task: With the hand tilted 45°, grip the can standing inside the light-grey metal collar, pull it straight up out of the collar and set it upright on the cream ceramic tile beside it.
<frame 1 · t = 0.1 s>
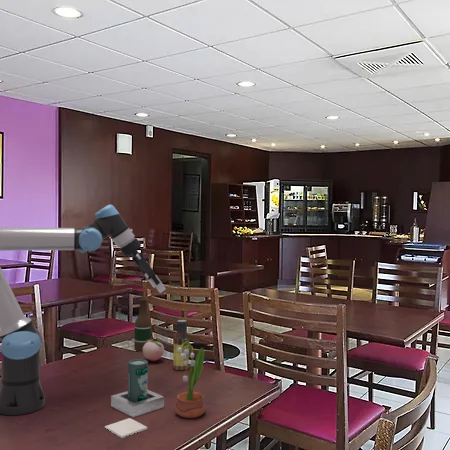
hand: (159, 288, 193), 36 cm above the table, tool tilted 35°, fingers open, 13 cm apart
tile: (126, 428, 153), on the table
decorative fruit: (152, 362, 219), on the table
collar: (137, 406, 170), on the table
can: (137, 407, 170), resting in collar
potted flower: (188, 415, 164), on the table
beer bottle: (142, 350, 237), on the table
sauce bottle: (180, 369, 211), on the table
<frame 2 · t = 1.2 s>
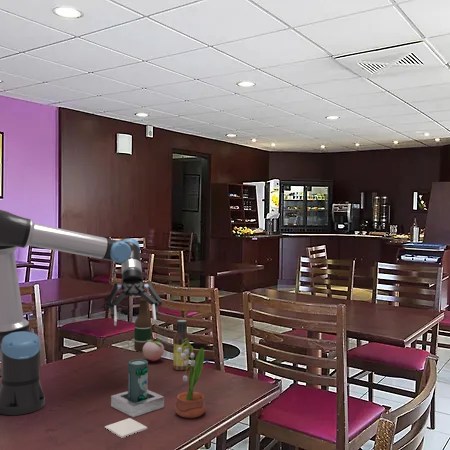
hand: (135, 322, 179), 26 cm above the table, tool tilted 45°, fingers open, 13 cm apart
nothing on the table moved.
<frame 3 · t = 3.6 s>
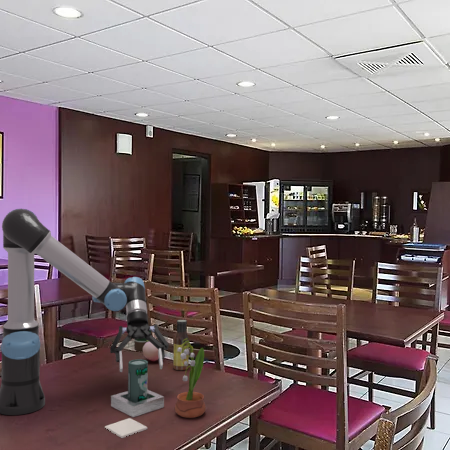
hand: (141, 368, 174), 11 cm above the table, tool tilted 45°, fingers open, 13 cm apart
nothing on the table moved.
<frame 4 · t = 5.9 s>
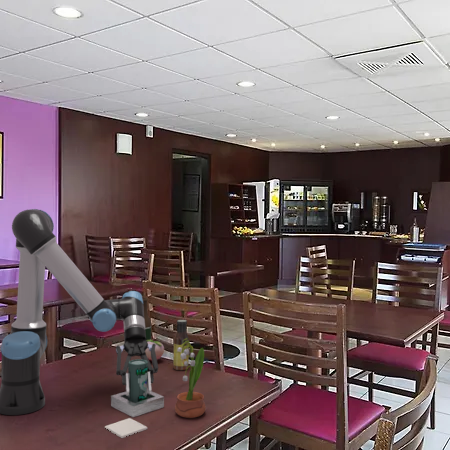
hand: (138, 392, 166), 6 cm above the table, tool tilted 45°, fingers closed on can, 6 cm apart
can: (137, 407, 170), resting in collar, touching gripper
everything else where it was.
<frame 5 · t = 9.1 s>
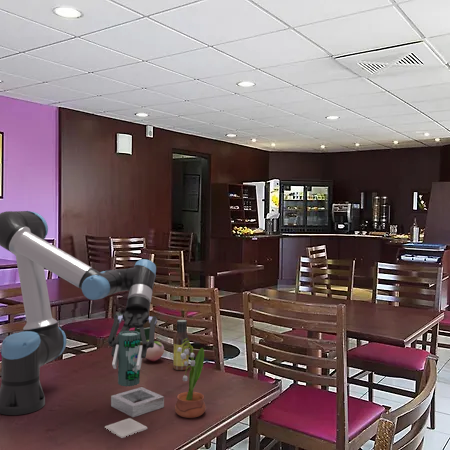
hand: (126, 366, 150), 19 cm above the table, tool tilted 45°, fingers closed on can, 6 cm apart
can: (128, 383, 154), point 13 cm above the table, touching gripper
everything else where it was.
when the fingers open (8 cm above the table, at t = 12.4 s): can drops 1 cm, resting on tile.
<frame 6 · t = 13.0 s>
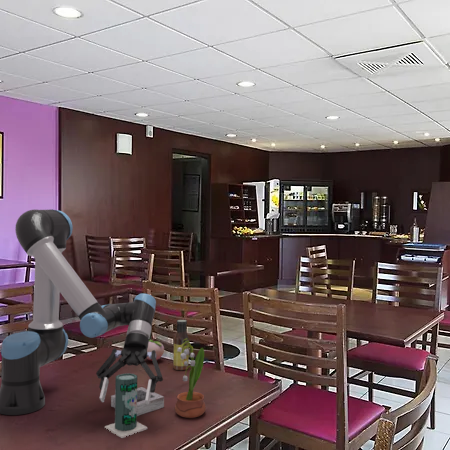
hand: (124, 401, 150), 9 cm above the table, tool tilted 45°, fingers open, 13 cm apart
can: (125, 427, 153), resting on tile
everything else where it was.
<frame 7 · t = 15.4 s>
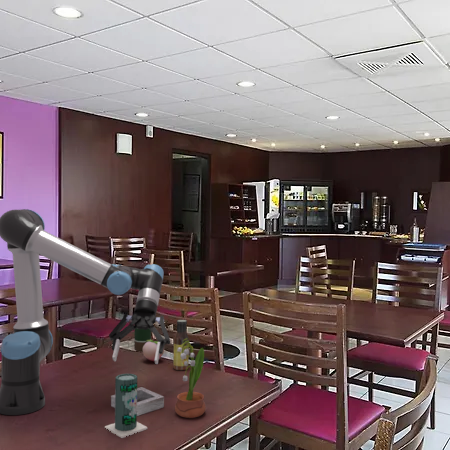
hand: (135, 360, 163), 17 cm above the table, tool tilted 45°, fingers open, 13 cm apart
nothing on the table moved.
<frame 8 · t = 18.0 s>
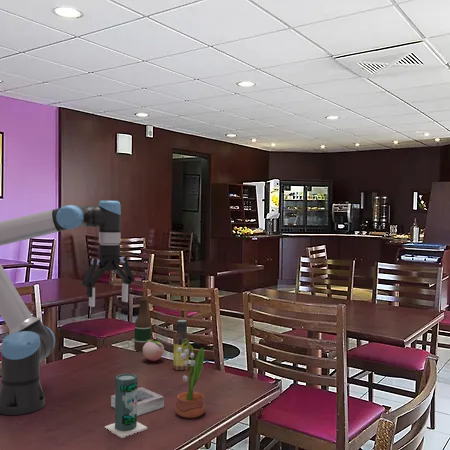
hand: (108, 303, 181), 32 cm above the table, tool pointing down, fingers open, 13 cm apart
nothing on the table moved.
at the end: can 0.1 cm off-centre on the tile, point 0.4 cm above the tile's base; can tilted 0°; the gripper is holding nothing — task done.
